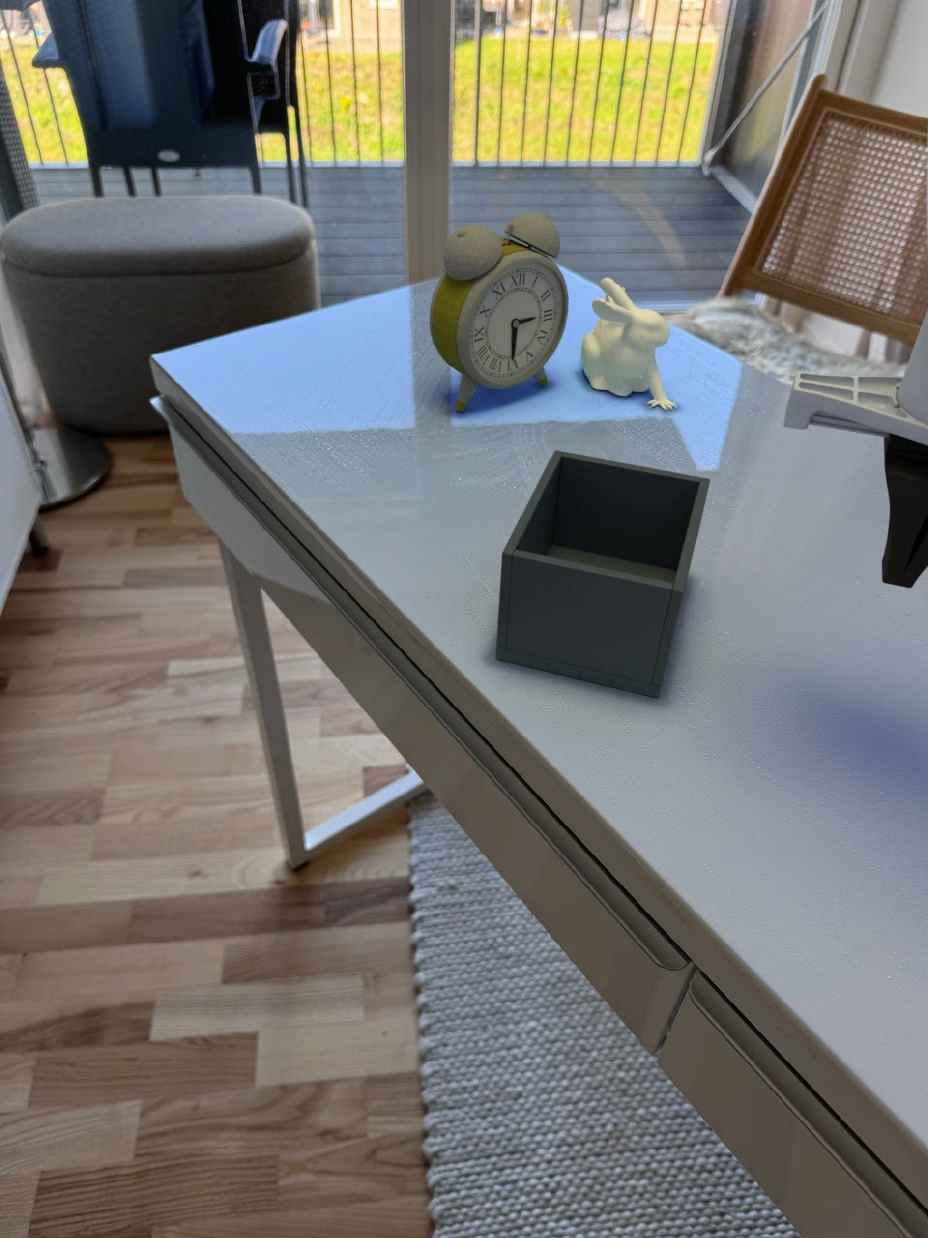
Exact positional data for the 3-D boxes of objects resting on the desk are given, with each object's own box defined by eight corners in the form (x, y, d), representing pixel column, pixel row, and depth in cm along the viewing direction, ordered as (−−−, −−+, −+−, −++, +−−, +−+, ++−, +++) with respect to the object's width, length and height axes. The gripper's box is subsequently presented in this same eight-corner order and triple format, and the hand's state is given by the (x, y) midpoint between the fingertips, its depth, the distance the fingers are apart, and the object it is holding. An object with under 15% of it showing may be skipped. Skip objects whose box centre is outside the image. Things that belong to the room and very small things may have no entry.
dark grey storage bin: (710, 478, 57) (554, 449, 59) (683, 591, 48) (501, 552, 51) (687, 579, 62) (544, 549, 64) (658, 698, 53) (495, 658, 56)
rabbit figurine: (677, 410, 81) (698, 302, 75) (599, 421, 79) (614, 311, 73) (619, 354, 90) (633, 253, 83) (547, 362, 88) (557, 260, 81)
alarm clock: (460, 422, 78) (464, 241, 69) (415, 391, 82) (414, 217, 73) (563, 388, 84) (581, 216, 74) (517, 361, 88) (528, 195, 78)
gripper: (1184, 299, 38) (1043, 560, 47) (825, 252, 42) (756, 504, 50) (1233, 367, 33) (1064, 646, 42) (818, 308, 37) (743, 577, 45)
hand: (896, 574), depth 46 cm, fingers closed
